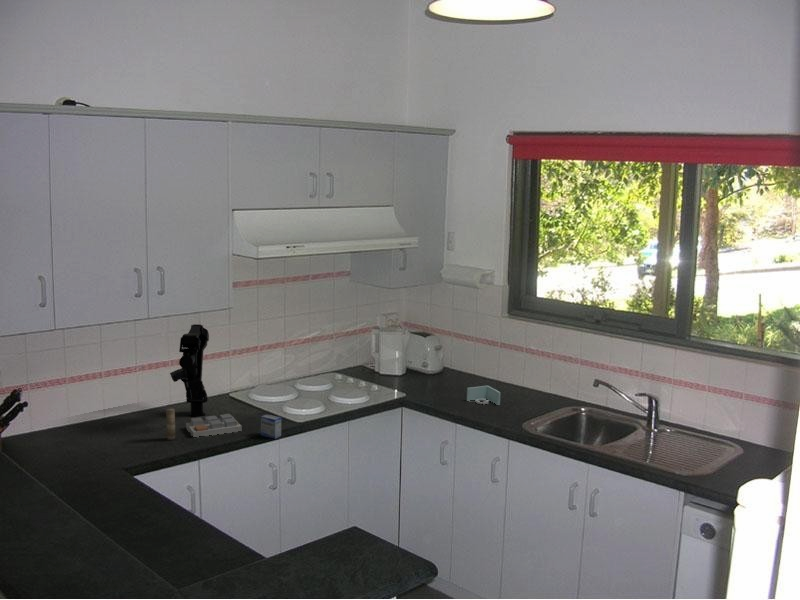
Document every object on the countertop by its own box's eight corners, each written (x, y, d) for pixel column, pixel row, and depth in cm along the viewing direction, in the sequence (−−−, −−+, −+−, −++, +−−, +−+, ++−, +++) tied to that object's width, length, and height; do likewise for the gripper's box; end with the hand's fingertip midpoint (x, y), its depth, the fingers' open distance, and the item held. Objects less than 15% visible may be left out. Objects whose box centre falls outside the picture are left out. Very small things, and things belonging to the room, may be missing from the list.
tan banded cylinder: (165, 438, 350) (165, 409, 348) (174, 437, 352) (173, 408, 349) (167, 441, 347) (167, 411, 345) (176, 440, 349) (175, 410, 346)
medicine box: (260, 435, 357) (260, 416, 356) (266, 432, 361) (266, 413, 359) (275, 439, 354) (275, 419, 352) (281, 436, 357) (281, 416, 356)
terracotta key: (194, 431, 357) (194, 425, 357) (204, 430, 359) (204, 424, 359) (197, 434, 353) (197, 429, 353) (207, 433, 355) (207, 427, 355)
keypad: (186, 428, 363) (186, 418, 362) (232, 422, 373) (232, 412, 372) (193, 438, 352) (193, 427, 351) (241, 431, 361) (241, 421, 361)
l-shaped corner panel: (466, 402, 415) (467, 387, 413) (487, 399, 420) (487, 385, 418) (478, 409, 404) (479, 394, 403) (499, 406, 409) (500, 392, 408)
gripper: (166, 359, 366) (167, 393, 369) (176, 369, 350) (177, 405, 353) (192, 357, 371) (192, 390, 374) (202, 367, 355) (203, 402, 358)
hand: (190, 397), depth 364 cm, fingers open, 9 cm apart
